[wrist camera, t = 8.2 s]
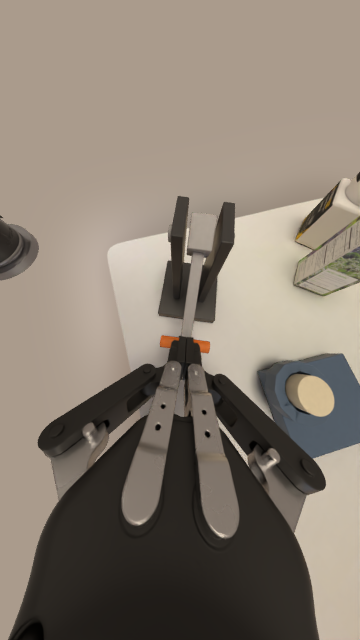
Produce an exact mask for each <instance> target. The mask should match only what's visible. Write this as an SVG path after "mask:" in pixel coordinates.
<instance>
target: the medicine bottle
mask: <svg viewBox="0 0 360 640" xmlns="http://www.w3.org/2000/svg"><path fill="white" fill-rule="evenodd" d="M359 216H360V172H359V173H358V174H357V175H356V177H354V178H353V179H352V180H350V179H347V178H343V179H342V180H341V181H340V182H339V183H338V184H337V185H336V186H335V187H334V188H333V189H332V190H331V191H330V192H329V193H328V194H327V196H326V197H325V198H324V199H323V200H322V201H321V202H320V203H319V204H318V205H317V206H316V207H315V208H314V209H313V210H312V211H311V213H310V214H309V215H308V216H307V217H306V218H305V219H304V221H303V223H302V225H301V228H300V230H299V232H298V235H297V237H296V239H295V241H296V242H298V243H300V244H303V245H305V246H307V247H309V248H312V249H314V250H315V249H316V248H318V247H319V246H320V245H322V244H323V243H324V242H326V241H327V240H328V239H330V238H331V237H332V236H334V235H335V234H336V233H338V232H339V231H340V230H341V229H343V228H344V227H345V226H347V225H348V224H349V223H351V222H352V221H353V220H355V219H356V218H357V217H359Z"/></svg>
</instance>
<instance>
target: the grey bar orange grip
mask: <svg viewBox="0 0 360 640" xmlns="http://www.w3.org/2000/svg"><path fill="white" fill-rule="evenodd" d="M217 217H218V216H217V215H210V214H202V213H195V212H192V215H191V222H190V230H189V238H188V246H187V255H190V256H192V260H191V267H190V274H189V281H188V289H187V296H186V303H185V310H184V318H183V325H182V332H181V336H184V337H191V335H192V328H193V322H194V316H195V309H196V303H197V297H198V290H199V284H200V278H201V271H202V265H203V259H204V257H205V258H207V257H208V256H209V254H210V253H211V251H212V247H213V241H214V235H215V229H216V223H217ZM173 340H178V341H179V338H178V337H171V336H163V335H162V336H161V340H160V347H165V348H170V347H171V343H172V342H173ZM193 341H194V343H198V344H199V346H200V352H202V353H209V350H210V342H208V341H201V340H193Z"/></svg>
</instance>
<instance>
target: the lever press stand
mask: <svg viewBox="0 0 360 640" xmlns="http://www.w3.org/2000/svg"><path fill="white" fill-rule="evenodd" d="M188 205H189V198H188V197H181V196H178V198H177V203H176V208H175V214H174V219H173V224H172V225H169V230H168V241H169V242H171V260H172V261H168V263H167V268H166V273H165V279H164V284H163V290H162V295H161V301H160V306H159V311H158V314H159V316H166V317H174V318H181V319H183V318H184V310H185V303H186V296H187V289H188V281H189V274H190V267H191V264H190V263H184V253H185V241H186V229H187V216H188ZM234 224H235V204H234V203H228V202H224V203H223V206H222V209H221V213H220V216H219V219H218V222H217V225H216V229H215V235H214V241H213V247H212V251H211V253H210V254H209V256H208V257H207V258H206V261H205V264H204V265H202V271H201V278H200V284H199V290H198V297H197V303H196V309H195V316H194V320H196V321H204V322H211V323H213V322H214V321H215V308H216V291H217V276H218V274H219V272H220V270H221V268H222V266H223V264H224V262H225V260H226V258H227V256H228V254H229V252H230V251H231V249H232V247H233V245H234V238H235V233H234Z"/></svg>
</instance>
